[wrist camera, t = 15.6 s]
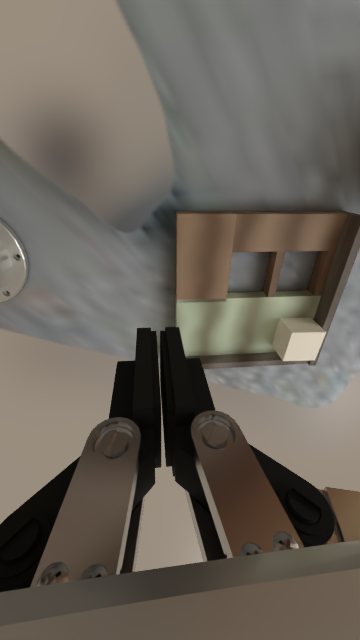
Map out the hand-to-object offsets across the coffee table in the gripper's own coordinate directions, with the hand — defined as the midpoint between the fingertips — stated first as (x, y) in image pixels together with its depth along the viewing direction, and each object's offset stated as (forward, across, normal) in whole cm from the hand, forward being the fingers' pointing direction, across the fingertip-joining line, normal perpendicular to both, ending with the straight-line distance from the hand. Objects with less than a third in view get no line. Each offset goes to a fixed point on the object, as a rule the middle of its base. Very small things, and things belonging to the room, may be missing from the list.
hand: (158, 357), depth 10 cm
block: (+22, -22, +14) cm, 34 cm away
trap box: (+24, -14, +8) cm, 29 cm away
